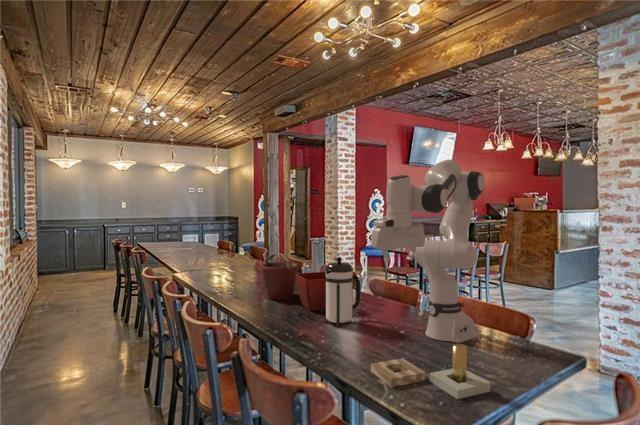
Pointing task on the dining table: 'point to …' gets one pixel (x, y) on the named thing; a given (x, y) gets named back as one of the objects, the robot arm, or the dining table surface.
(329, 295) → the coffee press
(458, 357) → the pin
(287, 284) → the bucket
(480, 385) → the socket block
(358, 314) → the dining table surface
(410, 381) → the birch mount
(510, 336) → the dining table surface
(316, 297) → the plant pot
